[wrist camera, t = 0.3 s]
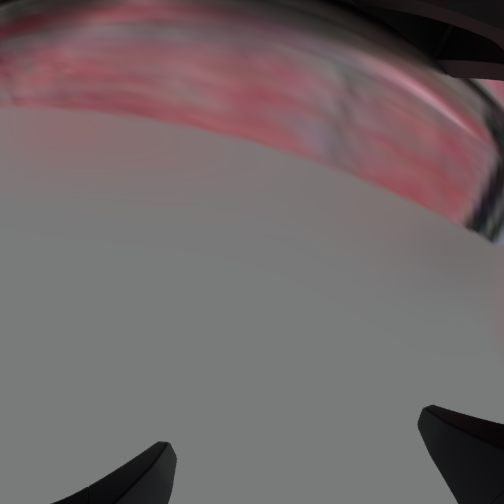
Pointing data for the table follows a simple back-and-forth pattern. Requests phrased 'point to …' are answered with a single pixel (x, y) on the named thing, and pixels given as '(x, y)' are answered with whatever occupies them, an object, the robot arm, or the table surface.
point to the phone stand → (450, 32)
